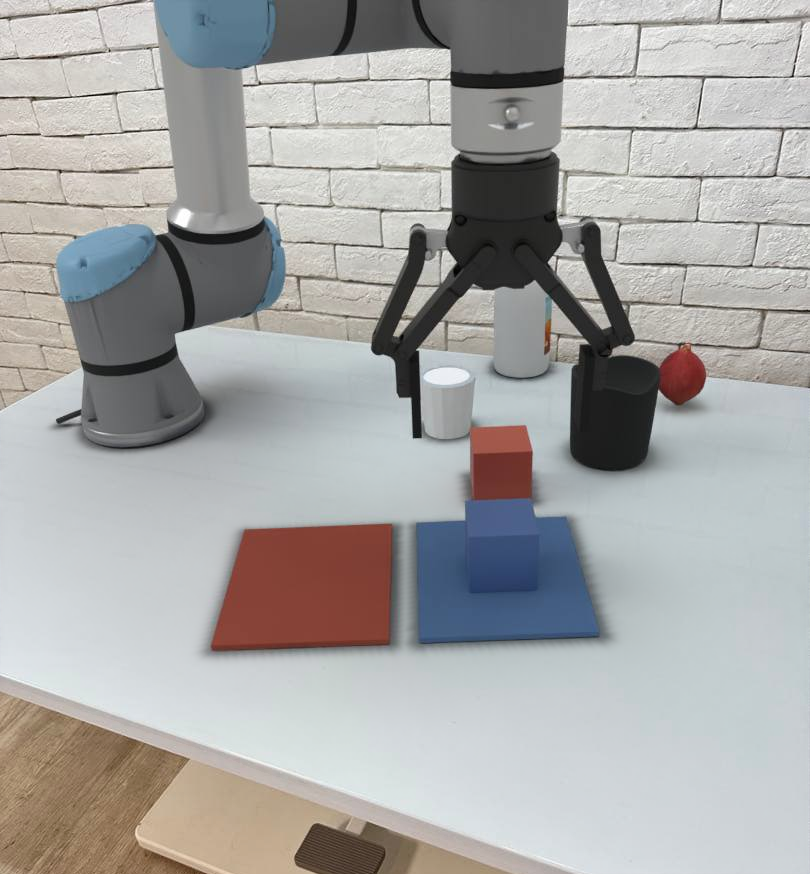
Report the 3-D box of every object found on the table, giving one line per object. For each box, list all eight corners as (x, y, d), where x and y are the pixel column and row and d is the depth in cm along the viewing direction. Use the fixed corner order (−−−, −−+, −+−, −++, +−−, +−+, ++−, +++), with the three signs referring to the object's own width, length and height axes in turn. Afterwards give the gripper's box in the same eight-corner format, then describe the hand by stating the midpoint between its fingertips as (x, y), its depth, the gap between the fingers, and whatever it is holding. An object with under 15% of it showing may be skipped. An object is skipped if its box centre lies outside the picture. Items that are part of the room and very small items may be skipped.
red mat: (211, 650, 72) (210, 645, 72) (245, 534, 87) (244, 529, 87) (389, 644, 71) (388, 638, 71) (392, 528, 86) (392, 523, 86)
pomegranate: (650, 411, 106) (657, 349, 101) (657, 393, 110) (664, 333, 106) (698, 417, 104) (708, 354, 99) (703, 398, 108) (713, 337, 104)
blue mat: (419, 643, 71) (418, 637, 71) (417, 527, 86) (416, 522, 86) (599, 636, 71) (599, 631, 71) (565, 521, 86) (565, 516, 86)
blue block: (469, 593, 76) (468, 536, 72) (465, 554, 81) (464, 500, 77) (537, 590, 76) (539, 534, 72) (529, 552, 81) (531, 497, 77)
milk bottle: (534, 383, 115) (540, 229, 104) (483, 373, 118) (484, 224, 107) (558, 363, 120) (565, 215, 109) (508, 354, 124) (511, 210, 113)
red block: (473, 504, 90) (473, 453, 86) (470, 476, 95) (469, 427, 91) (531, 501, 89) (532, 451, 86) (524, 474, 94) (525, 424, 91)
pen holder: (646, 477, 92) (657, 391, 87) (559, 467, 95) (564, 384, 90) (654, 439, 100) (664, 357, 94) (573, 431, 102) (578, 351, 97)
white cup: (471, 443, 101) (471, 388, 97) (414, 440, 102) (412, 386, 99) (479, 417, 107) (479, 365, 103) (425, 415, 108) (423, 363, 104)
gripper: (321, 170, 56) (346, 454, 68) (702, 154, 56) (661, 444, 67) (329, 149, 62) (351, 413, 74) (673, 134, 62) (639, 403, 74)
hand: (498, 428), depth 71 cm, fingers open, 13 cm apart
